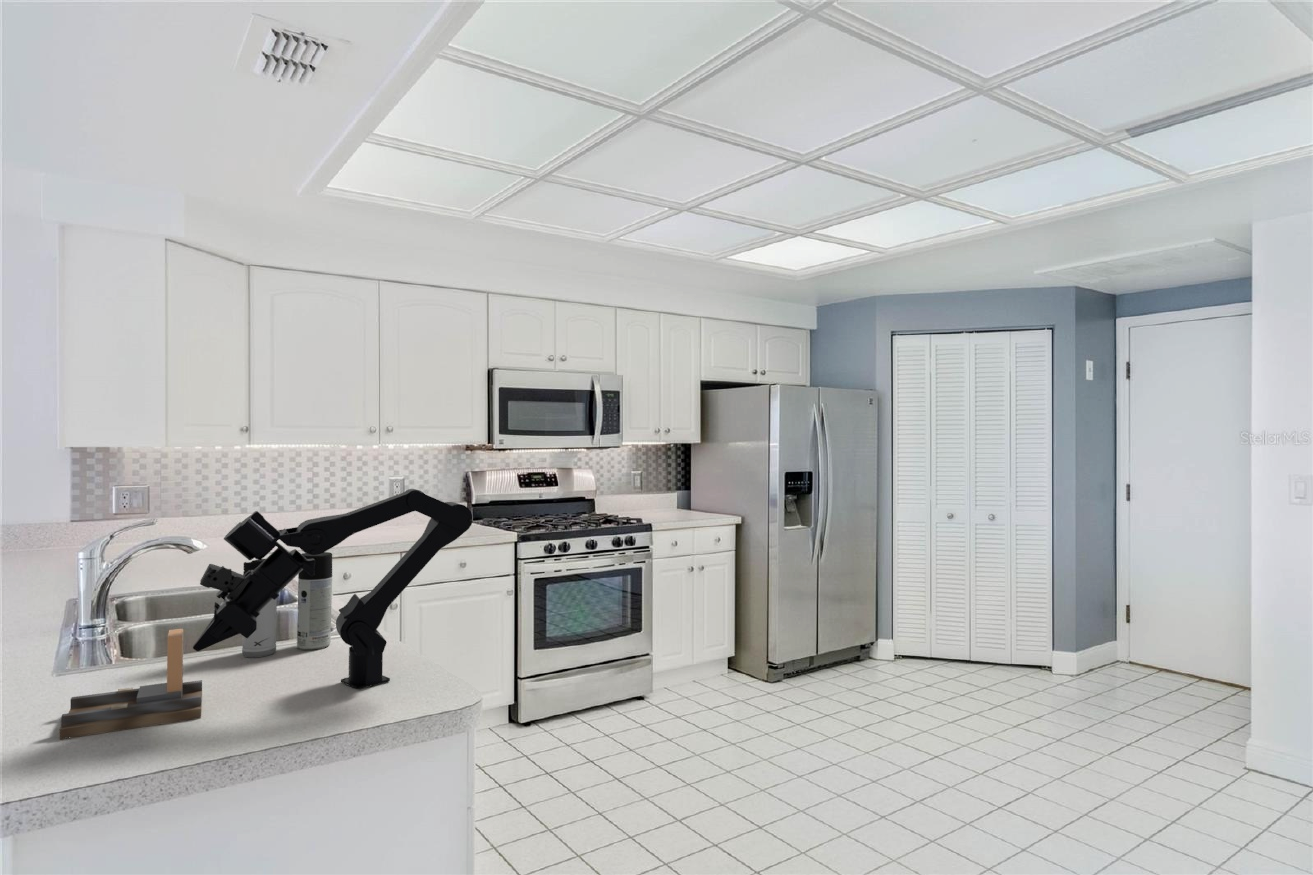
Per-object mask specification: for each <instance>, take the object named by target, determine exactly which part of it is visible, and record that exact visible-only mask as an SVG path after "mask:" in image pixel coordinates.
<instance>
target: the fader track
mask: <svg viewBox="0 0 1313 875" xmlns="http://www.w3.org/2000/svg"><path fill="white" fill-rule="evenodd" d="M139 688H140V687H138V688H134V687H125V688H118V689H117V690H116V691H109V692H101V693H93V694H84V695H78V696H72V697H71V698H70V704H69V705H70V706H69V707H70V709H69V711H68V713H63V714H62V715H61V717H60V719H61V720H60V722H61V723H60V728H59V740H64V739H63V738H66V739H70V738H69V737H73V738H77V737H78V738H79V737H84V736H90V735H97V734H105V733H111V732H116V731H117V732H118V731H123V730H124V731H125V730H132V729H137V728H144V727H150V726H158V725H163V724H169V723H176V722H177V723H178V722H182V721H183V722H184V721H191V720H198V719H202V704H203V702H202V701H203V680H202V679H201V680H199V679H198V680H194V681H193V680H192V681H186V682H185V681H183V694H182V698H175V699H168V700H160V701H153V702H146V703H139V704H136V699H137V695H138V691H139Z"/></svg>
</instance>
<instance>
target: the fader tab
mask: <svg viewBox="0 0 1313 875" xmlns="http://www.w3.org/2000/svg"><path fill="white" fill-rule="evenodd" d="M166 643H167V648H166V649H167V651H166V652H167V654H166V656H167V658H166V665H167V666H166V667H167V668H166V682H163V683H155V684H145V685H140V686H139V687H138V688H139V691H138V695H137V699H136V704H139V703H146V702H153V701H160V700H168V699H175V698H182V694H183V683H184V679H183V677H184V672H183V670H184V669H183V668H184V628H177V629H175V628H174V629H169V630H168V634H167V642H166Z"/></svg>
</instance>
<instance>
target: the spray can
mask: <svg viewBox="0 0 1313 875" xmlns="http://www.w3.org/2000/svg"><path fill="white" fill-rule="evenodd" d="M301 554H302V555H303V556H304V557H305V558H306V559H314V560H315V561H316V562H315V565H314V573H315V574H314V575H313V576H311V575H309V574H308V573H307V572H306V571H305V570H304V569H303V570H302V571H301V572H300V573H299V574H298V575H297V577H298V580H297V582H298V583H297V586H298V588H297V590H298V591H297V622H296V623H297V626H296V630H297V631H296V632H297V633H296V646H297V649H298V650H301V651H317V650H322V649H326V648H328V647H329V646H330V645H331V640H332V639H331V638H332V635H331V634H332V603H333V602H332V599H333V596H332V595H333V553H332V552H329V551H328V552H327V551H325V552H323V553H321V554H317V555H311V554H308V553H305V552H303V553H301ZM327 646H328V647H327ZM325 647H326V648H325Z"/></svg>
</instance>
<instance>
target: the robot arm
mask: <svg viewBox="0 0 1313 875" xmlns="http://www.w3.org/2000/svg"><path fill="white" fill-rule="evenodd" d="M413 512H417V513H419V514H422V515H424V516H426V517H428V518H430V519H429V520H428V523H427V525H426V527H425V528H424V529H425V530H423V531H424V532H423V533H422V535H421V536H420V537H419V539H417V541H416V542H415V543H414V544H413V545H412V546H411V547H410V548H409V549H408V550H407V552H406V553H405V554H403V556H402V557H401V558H400V559H399V560H398V561H397V563H395V565H393V566H392V568H390V570H389V571H388V572H387V573H386V574H385V575H384V577H383V578H382V579H381V580H380V581H379V582H378V583H377V584H376V585H375V586H374V588H373V589H371V591H370V592H368V593H366V594H365V595H362V597H360V598H359V596H358V595H357V594H356V593H354V594H352V596H351V598H350V599H349V600H348V602H347V603H346V604H345V605H344V606H343V607H341V608H339V609H338V612H339V615H338V616H337V617H336V620H335V629H336V632H337V633H338V635H339V637H340V638H341V640H342V641H343V642H344V644H346V645H349V646H350V647H348V677H344V678H341V679H340V683H342V684H345V685H346V686H348V687H351V688H354V689H356V690H362V689H365V688H369V687H373V686H376V685H380V684H383V683H384V684H385V683H389V682H390V681H391V679H390V677H388V676H386V675H384V674H383V662H384V661H383V659H384V658H383V654H384V651H385V648H386V645H387V640H386V639H385V638H384V636H383V635H382V634H381V633H380V632H379V630H378V629H379V626H380V625H381V623H382V621H383V619H384V617H385V615H386V612H387V610H388V609H389V607H390V606H391V605H392V603H394V601H395V600H396V599H397V598H398V597H399V596H400V595H401V594H402V592H403V591H404V590H405V589H406V588H407V587H408V585H410V583H411V582H412V581H413V580H414V579H415V578H416V577H417V576H418V574H419V573H420V572H421V571H422V570H423V569H424V568H425V567H426V565H428V563H429V562H430V561H431V560H432V559H433V558H434V556H435V555H436V554H438V552H439V551H440V550H442V548H445V547H446V546H448V545H449V544H451V543H453V542H454V541H456V540H457V539H459V538H460V537H461V536H462V535H464V534H465V533H466V532H467V531H468V530H469V529H470V527H471V526H472V524H473V514H472V510H470V508H469V507H468V506H466V505H465V504H461V503H458V502H454V501H446V502H445V501H442V500H439V499H437V498H434V497H433V496H430V495H428V494H426V493H424V491H422V490H419V489H415V488H408V489H407V490H404V492H401V493H398V494H396V495H394V496H390V497H388V498H385V499H382V500H379V501H376V502H373V503H371V504H368V505H366V506H365V505H364V506H363V507H360V508H358V509H354V510H352V511H348V512H346V513H340V514H335V515H325V516H321V517H317V518H310V519H306V520H304V521H303V522H301V523H299V525H298V526H295V527H291V528H290V527H289V528H283V529H277V528H275V527H274V526H273V525H272V524H271V523H270V522H269V521H268V520H266V518H265V517H264V516H263V514H261V513H260V512H259V510H255V511H254V512H252V513H251V515H249V516H248V517H246V518H245V519H244V520H242V521H239V522H238V523H237V524H235V526H234V527H232V528H231V530H229V531H228V533H227V534H226V535H225V536H224V537H223V540H224V541H225V542H226V543H228V544H229V545H230V546H231V547H232V548H234V549H235V550H236V551H237V552H238V553H239V554H241V555H242V556H243V557H244V558H246V560H248V561H253V560H261V559H265V560H264V561H263V562H262V563H261V564H260V565H259V566H258V567H257V568H256V569H255V570H254V571H253V570H251V571H250V570H248V571H247V572H246V573H245V574H244V575H243V573H238V572H236V571H233V570H232V568H227V567H225V566H224V565H222V566H218V565H217V564H213V563H209V564H208V565H207V568H206V570H205V571H204V572H203V575H202V576H201V578H200V580H199V585H200V586H203V587H205V588H208V589H209V588H212V589H215V590H217V591H218V592H217V593H216V598H218V599H223V601H222V602H221V603H220V604H219V603H218V602H216V601H215V602H214V604H213V609H214V610H213V617H212V618H211V620H210V621H209V623H208V625H207V626H206V628H205V629H204V630H203V631H202V633H201V634H200V635H199V637H198V638H197V640H196V641H195V643H194V644H193V646H192V650H194V651H196V652H200V651H202V650H204V649H207V648H209V647H211V646H214V645H216V644H219V643H221V642H223V641H225V640H227V639H230V638H232V637H234V636H237V635H240V634H241V636H242V635H243V636H244V637H245V638H248V637H249V636H250V635H251V634H252V633H253V632H254V631H256V628H257V621H256V617H257V616H258V615H260V612H259V611H260V610H261V609H262V608H263V607H265V606H266V605H267V604H268V603H269V602H270V601H271V600H272V599H274V600H275V599H276V598H278V597H279V596H280V595H279V593H280V592H282V590H283V589H284V588H286V586H287V585H288V584H290V583H291V581H293V579H295V578H296V577H298V574H299V573H300V572H301V571H302V570H303V569H304V570H305V571H306V572H307V573H308V574H309V575H311V576H313V575H314V574H315V573H314V565H315V562H316V561H315V560H314V559H306V558H305V557H304V556H303V555H302V554H303V553H308V554H311V555H317V554H321V553H323V552H327V551H329V550H331V549H332V548H334V547H336V546H338V545H339V544H341V543H342V542H343V541H345V540H346V539H348V538H349V537H351V536H352V535H353V536H354V535H355V534H356V533H360V532H362V531H365V530H368V529H370V528H373V527H376V526H378V525H381V524H383V523H385V522H388V521H392V520H394V519H397V518H399V517H402V516H405V515H408V514H410V513H413ZM278 541H280V542H282V543H283V544H284V545H285V546H287V547H292V548H294V549H292V550H291V551H289V550H288V549H286V548H285V546H283V545H282V544H281V543H279V542H278ZM276 547H277V548H276ZM274 548H276V549H275V550H274V551H273V549H274ZM296 548H299V549H300V550H301V551H302V552H303V553H301V552H299V550H297V549H296ZM272 551H273V552H272ZM271 552H272V553H271ZM269 553H270V555H268V554H269ZM267 555H268V556H267ZM266 556H267V557H266ZM265 557H266V558H265Z"/></svg>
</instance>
